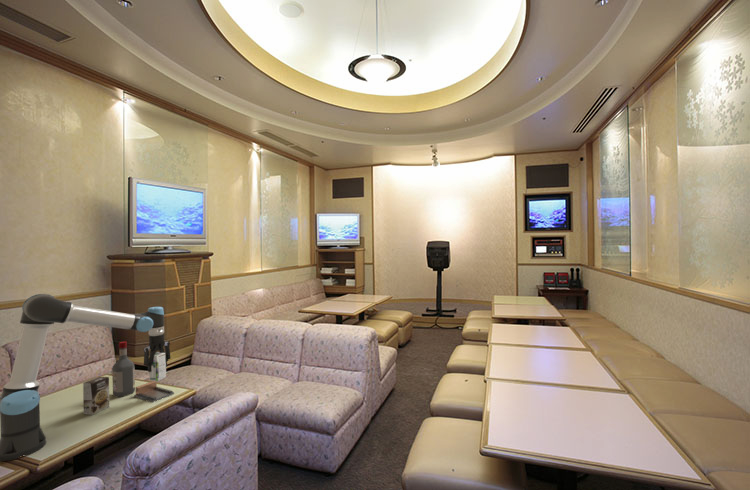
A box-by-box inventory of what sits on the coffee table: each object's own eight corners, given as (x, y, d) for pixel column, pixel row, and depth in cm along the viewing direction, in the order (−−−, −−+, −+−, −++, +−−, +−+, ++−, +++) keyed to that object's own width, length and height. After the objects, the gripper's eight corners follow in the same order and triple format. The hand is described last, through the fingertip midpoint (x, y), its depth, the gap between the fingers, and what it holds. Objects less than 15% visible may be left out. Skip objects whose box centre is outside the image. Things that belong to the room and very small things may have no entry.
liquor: (119, 398, 196) (117, 345, 196) (111, 395, 201) (109, 343, 201) (136, 392, 204) (135, 341, 204) (128, 389, 209) (127, 339, 209)
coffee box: (93, 415, 177) (92, 383, 177) (83, 414, 178) (82, 382, 178) (110, 406, 186) (109, 376, 186) (100, 406, 187) (99, 376, 187)
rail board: (152, 402, 190) (152, 393, 190) (133, 396, 198) (133, 387, 198) (174, 393, 200) (173, 385, 200) (155, 388, 209) (155, 380, 209)
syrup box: (149, 380, 195) (148, 355, 195) (158, 376, 201) (158, 351, 201) (157, 381, 194) (156, 355, 194) (166, 377, 199) (165, 352, 199)
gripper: (142, 339, 187) (143, 382, 187) (177, 330, 204) (178, 370, 204) (134, 337, 190) (136, 379, 190) (169, 329, 208) (170, 368, 208)
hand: (157, 374), depth 197 cm, fingers closed on syrup box, 6 cm apart
